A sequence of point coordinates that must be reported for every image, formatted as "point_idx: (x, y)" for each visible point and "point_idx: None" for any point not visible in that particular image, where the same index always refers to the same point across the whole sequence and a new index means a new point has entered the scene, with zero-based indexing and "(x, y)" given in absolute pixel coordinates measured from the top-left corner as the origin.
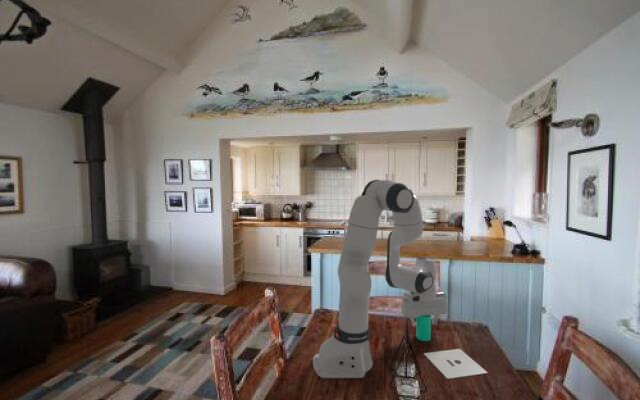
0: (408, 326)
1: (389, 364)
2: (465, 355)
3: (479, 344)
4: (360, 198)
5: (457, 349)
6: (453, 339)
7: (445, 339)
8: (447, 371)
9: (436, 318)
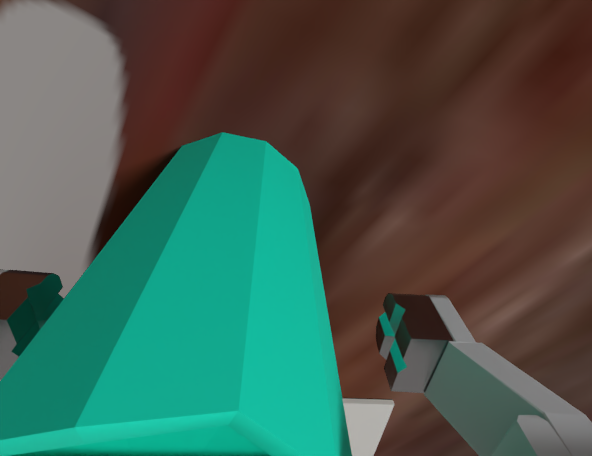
0: None
1: None
2: (362, 450)
3: (572, 385)
4: None
5: (373, 406)
6: (479, 302)
7: (416, 287)
8: None
9: (464, 427)
